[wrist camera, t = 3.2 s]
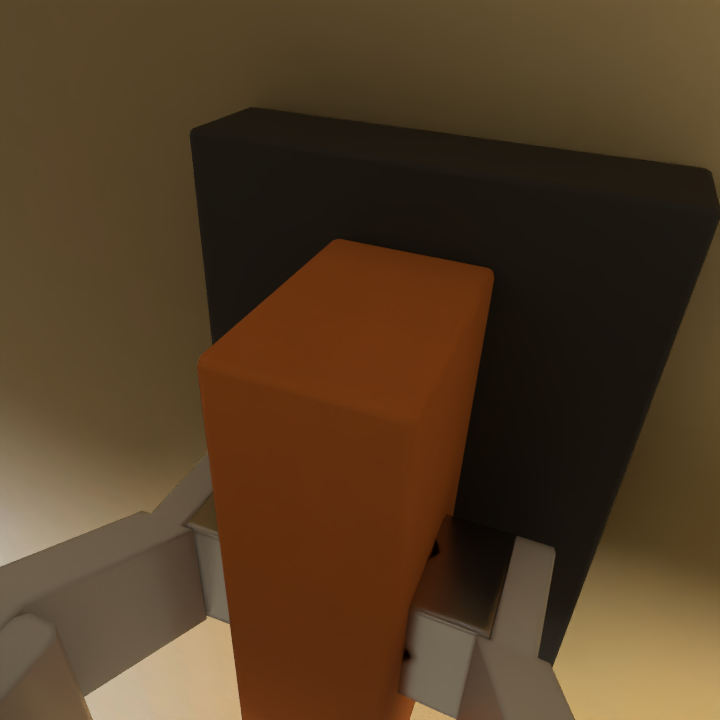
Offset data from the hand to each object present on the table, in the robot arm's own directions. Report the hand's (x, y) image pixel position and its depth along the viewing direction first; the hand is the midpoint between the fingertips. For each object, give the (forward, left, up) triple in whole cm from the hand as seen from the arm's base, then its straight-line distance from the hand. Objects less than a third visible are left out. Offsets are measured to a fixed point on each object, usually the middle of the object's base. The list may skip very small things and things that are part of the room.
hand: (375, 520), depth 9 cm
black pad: (0, 0, -2) cm, 2 cm away
